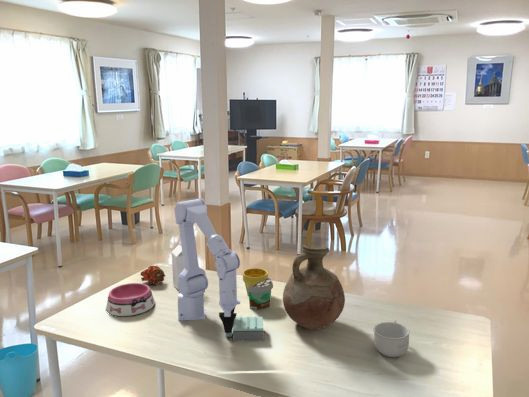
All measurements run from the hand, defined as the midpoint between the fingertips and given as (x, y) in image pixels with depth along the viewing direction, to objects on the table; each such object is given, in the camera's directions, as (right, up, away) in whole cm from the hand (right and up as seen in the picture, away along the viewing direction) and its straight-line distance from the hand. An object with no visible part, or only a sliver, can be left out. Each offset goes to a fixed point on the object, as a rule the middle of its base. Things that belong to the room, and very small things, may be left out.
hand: (228, 326), depth 152 cm
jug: (+29, -2, +9) cm, 31 cm away
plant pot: (+8, +3, +34) cm, 36 cm away
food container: (+12, +1, +23) cm, 26 cm away
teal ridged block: (+5, -3, +1) cm, 6 cm away
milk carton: (-23, +5, +43) cm, 49 cm away
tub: (+6, -4, +1) cm, 8 cm away
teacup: (+53, -6, -7) cm, 54 cm away
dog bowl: (-40, +1, +24) cm, 47 cm away
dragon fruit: (-37, +6, +47) cm, 60 cm away
